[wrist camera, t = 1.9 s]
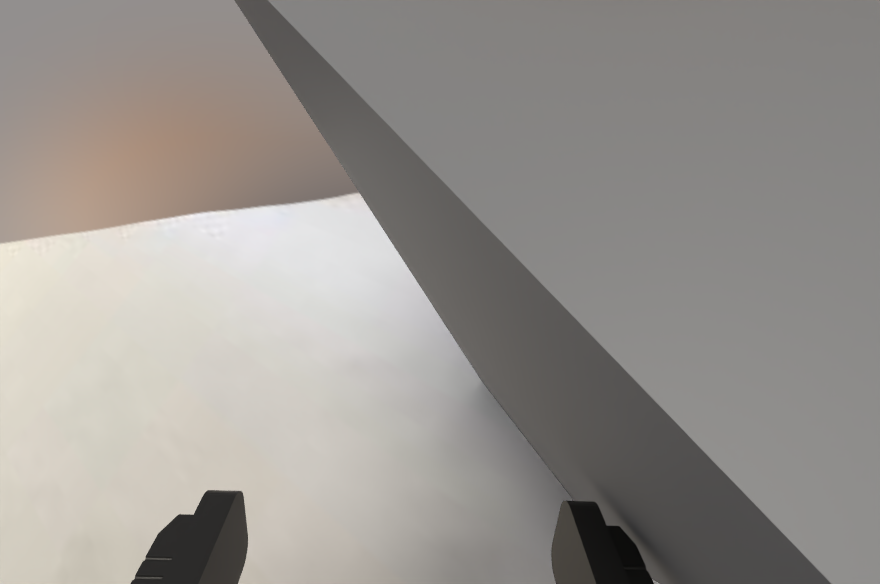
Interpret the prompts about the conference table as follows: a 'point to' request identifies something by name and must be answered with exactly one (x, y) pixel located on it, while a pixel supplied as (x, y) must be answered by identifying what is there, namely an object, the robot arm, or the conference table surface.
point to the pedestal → (639, 246)
